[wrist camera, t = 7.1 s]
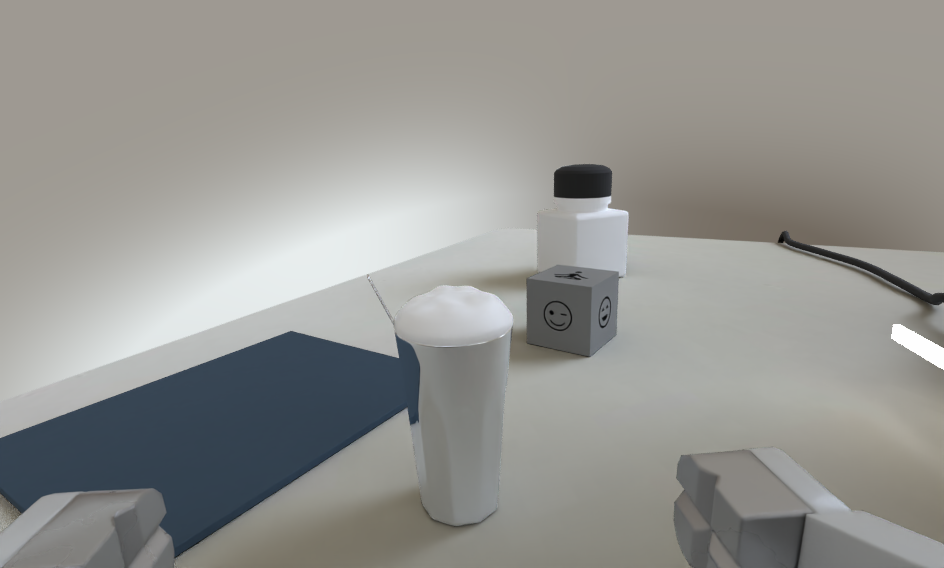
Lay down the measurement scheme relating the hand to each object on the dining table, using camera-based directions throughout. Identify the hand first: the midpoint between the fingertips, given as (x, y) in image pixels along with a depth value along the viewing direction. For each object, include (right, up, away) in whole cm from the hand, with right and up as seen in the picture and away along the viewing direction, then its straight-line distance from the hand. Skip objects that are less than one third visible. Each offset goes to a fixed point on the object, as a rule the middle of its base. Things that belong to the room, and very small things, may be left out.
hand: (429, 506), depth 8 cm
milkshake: (0, -6, +14) cm, 15 cm away
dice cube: (+8, -1, +31) cm, 33 cm away
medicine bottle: (+13, +4, +50) cm, 52 cm away
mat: (-13, -4, +22) cm, 26 cm away
